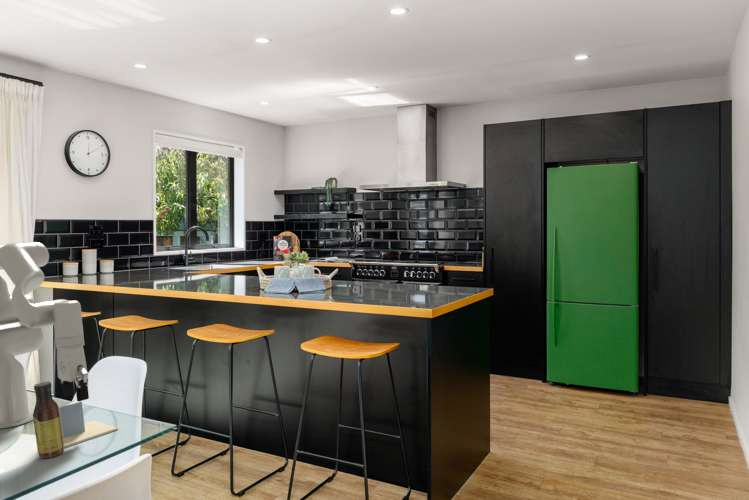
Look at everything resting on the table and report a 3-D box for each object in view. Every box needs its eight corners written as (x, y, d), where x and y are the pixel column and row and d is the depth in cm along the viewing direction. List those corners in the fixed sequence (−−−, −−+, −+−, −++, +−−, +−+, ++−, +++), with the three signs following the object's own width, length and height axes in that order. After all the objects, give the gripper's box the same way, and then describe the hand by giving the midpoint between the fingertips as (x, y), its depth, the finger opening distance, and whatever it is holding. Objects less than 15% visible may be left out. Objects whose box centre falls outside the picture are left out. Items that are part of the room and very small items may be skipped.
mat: (39, 439, 169) (39, 437, 169) (93, 422, 181) (93, 420, 181) (62, 448, 158) (61, 446, 158) (117, 429, 171) (117, 427, 171)
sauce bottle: (46, 451, 157) (37, 381, 156) (69, 449, 157) (60, 378, 157) (33, 461, 151) (24, 387, 150) (57, 458, 151) (48, 385, 150)
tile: (81, 430, 172) (60, 436, 167) (78, 400, 172) (57, 406, 167) (85, 431, 171) (64, 438, 166) (81, 401, 170) (60, 407, 166)
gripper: (45, 342, 173) (50, 397, 174) (69, 346, 162) (75, 405, 163) (70, 337, 179) (76, 390, 179) (96, 341, 168) (101, 398, 168)
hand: (75, 397), depth 171 cm, fingers open, 9 cm apart
